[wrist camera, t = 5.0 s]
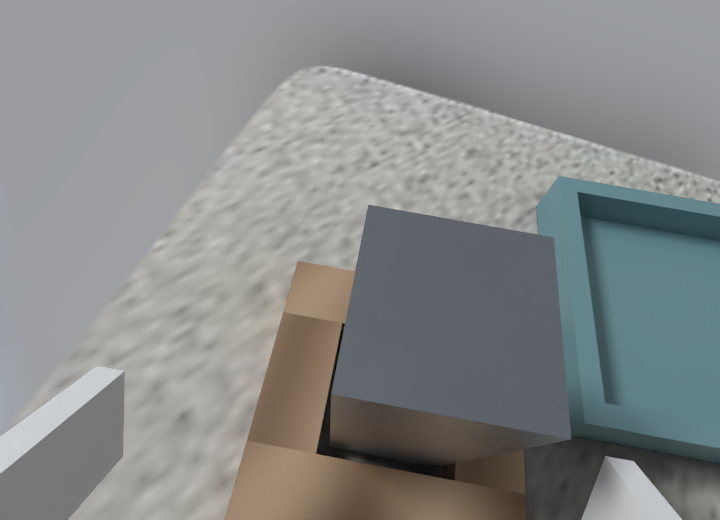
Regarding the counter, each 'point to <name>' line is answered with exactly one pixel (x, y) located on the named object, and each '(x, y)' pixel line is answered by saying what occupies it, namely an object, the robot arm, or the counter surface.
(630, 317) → the tray
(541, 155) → the counter surface
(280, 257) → the counter surface
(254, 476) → the socket plate
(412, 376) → the grey rectangular block
